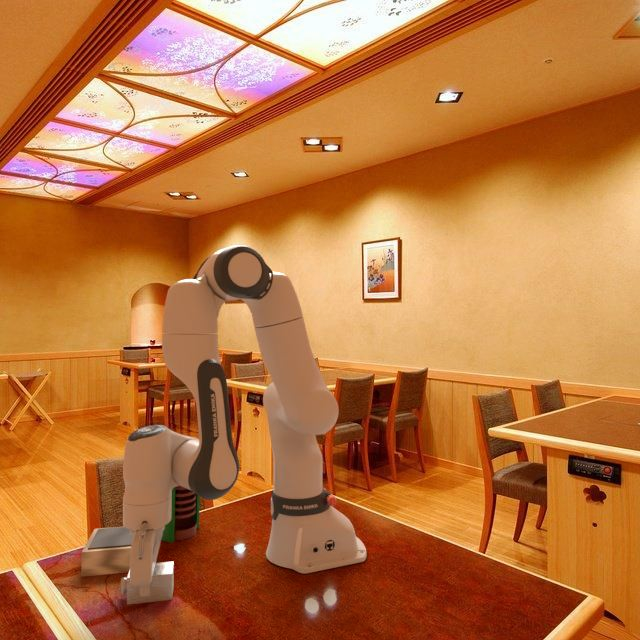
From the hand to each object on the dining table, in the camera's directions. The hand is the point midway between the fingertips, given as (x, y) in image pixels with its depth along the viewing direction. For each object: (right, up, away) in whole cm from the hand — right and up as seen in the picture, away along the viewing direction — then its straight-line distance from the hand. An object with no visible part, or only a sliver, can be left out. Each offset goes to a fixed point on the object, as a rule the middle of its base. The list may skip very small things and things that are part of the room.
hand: (147, 585), depth 97 cm
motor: (-2, -2, +28) cm, 28 cm away
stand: (-11, -2, +14) cm, 18 cm away
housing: (+1, -2, 0) cm, 2 cm away
